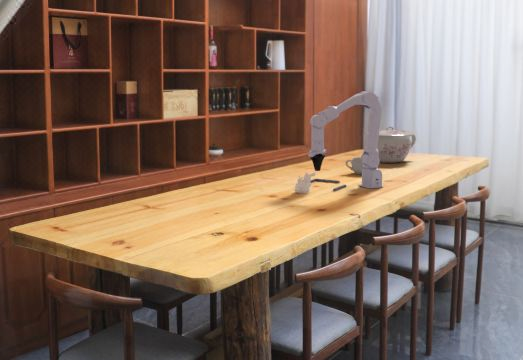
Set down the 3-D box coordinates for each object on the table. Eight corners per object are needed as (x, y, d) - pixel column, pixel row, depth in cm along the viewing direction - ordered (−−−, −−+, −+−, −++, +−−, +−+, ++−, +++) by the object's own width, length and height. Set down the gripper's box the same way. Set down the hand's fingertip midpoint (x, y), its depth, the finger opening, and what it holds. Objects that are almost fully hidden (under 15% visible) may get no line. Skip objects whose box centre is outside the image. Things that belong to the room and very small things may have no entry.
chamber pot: (362, 163, 378) (362, 127, 374) (368, 157, 404) (369, 123, 400) (411, 165, 370) (413, 129, 366) (415, 159, 396) (416, 124, 392)
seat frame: (353, 184, 314) (353, 182, 314) (335, 191, 297) (335, 189, 297) (315, 180, 325) (315, 178, 325) (295, 187, 307) (295, 185, 307)
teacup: (371, 172, 349) (371, 157, 348) (372, 175, 339) (373, 160, 337) (345, 171, 351) (345, 157, 349) (345, 175, 340) (345, 159, 339)
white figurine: (307, 189, 302) (308, 168, 301) (320, 191, 297) (321, 170, 296) (290, 193, 294) (290, 172, 292) (303, 195, 289) (303, 173, 287)
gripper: (316, 139, 308) (316, 167, 311) (302, 142, 296) (302, 172, 298) (330, 139, 305) (330, 168, 307) (316, 143, 292) (316, 173, 295)
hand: (317, 170), depth 302 cm, fingers closed
